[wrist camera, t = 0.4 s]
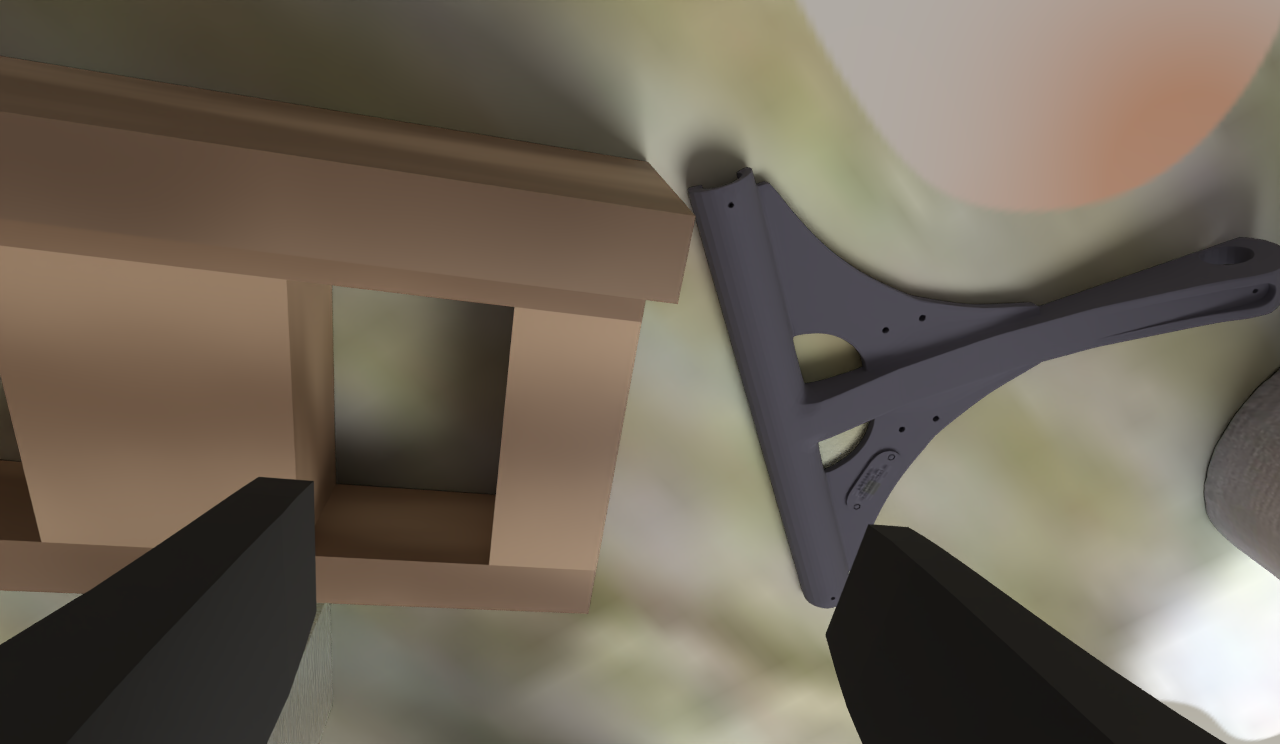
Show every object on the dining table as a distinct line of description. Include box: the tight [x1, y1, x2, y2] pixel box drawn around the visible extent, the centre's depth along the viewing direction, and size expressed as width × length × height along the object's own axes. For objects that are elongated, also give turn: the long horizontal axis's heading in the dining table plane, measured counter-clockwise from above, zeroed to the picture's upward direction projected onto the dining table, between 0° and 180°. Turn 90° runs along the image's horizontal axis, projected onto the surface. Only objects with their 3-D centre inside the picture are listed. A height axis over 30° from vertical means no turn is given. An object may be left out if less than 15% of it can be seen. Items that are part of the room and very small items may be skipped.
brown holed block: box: [0, 56, 696, 614], centre depth 14 cm, size 12×20×6 cm, turn 80°
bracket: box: [687, 167, 1280, 608], centre depth 19 cm, size 14×15×3 cm
